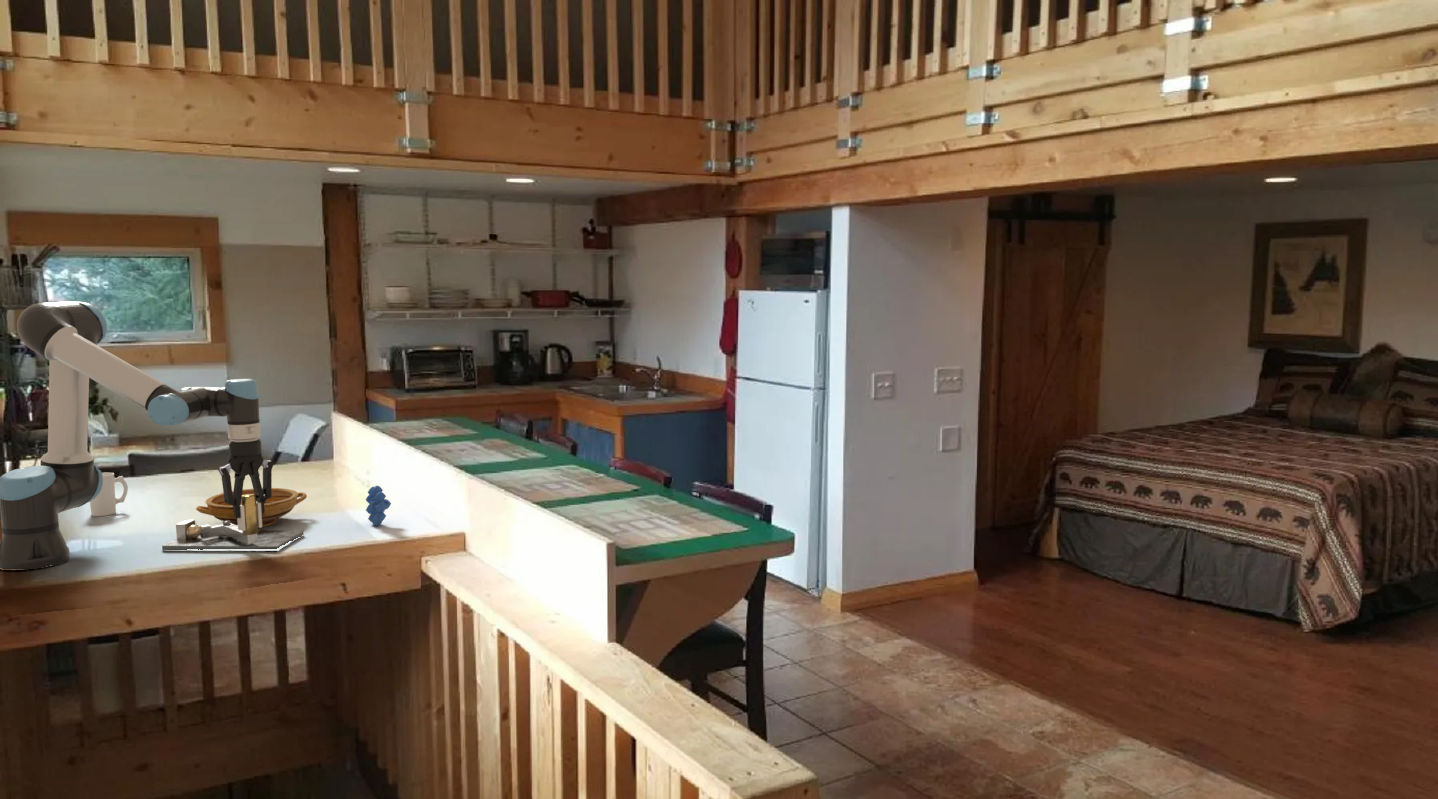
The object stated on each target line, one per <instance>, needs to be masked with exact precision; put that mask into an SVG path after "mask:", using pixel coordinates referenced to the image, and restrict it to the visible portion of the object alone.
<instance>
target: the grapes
mask: <svg viewBox="0 0 1438 799" xmlns="http://www.w3.org/2000/svg"><path fill="white" fill-rule="evenodd" d="M383 491H384V490H383V488H382V487H381V486H379V485H375V486H371V487H370V488H369V489H368V491H367V494H368V495H367V497H366V499H365V501H366V502H367V503H368V506H367V507H366V509H365V511H366V513H367V514H369V516H368V518H367V519H368V521H369V522H370V523H372V524H373V525H374V526H375V525H379V526H381V524H382V523H383V522H384V520H385V519H386V517H387V515H386V513H385V512H386V510H388V509H389V508H390V506H391V505H392V503H391V501H390V500H388V499H386V497H387V496H386V495H385V493H384V492H383Z"/></svg>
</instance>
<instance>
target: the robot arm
mask: <svg viewBox="0 0 1438 799" xmlns="http://www.w3.org/2000/svg"><path fill="white" fill-rule="evenodd" d="M17 318H18V319H17V322H16V330H17V331H16V332H17V334H18V337H19V338H20V340H21V341H22V343H23V344H24V345H26V347H27V348H28V349H30V350H31V351H33V352H35V353H36V354H38V355H39V356H41V357H43V358H45V359H46V360H49V368H48V369H49V370H48V371H49V372H48V373H49V374H48V375H49V377H48V378H49V379H48V380H49V381H48V424H47V425H48V429H47V430H48V431H47V452H46V453H44V454H43V455H42V456H41V457H40V465H34V466H33V465H31V466H26V467H23V468H16V469H13V470H10V471H8V472H5V473H4V474H2V475H1V476H0V525H1V534H2V535H1V536H2V537H1V540H0V568H2V569H34V570H37V569H36V568H41V569H43V568H42V567H46V566H50V565H54V566H58V565H61V564H63V563H65V562H64V561H66V562H67V561H69V560H70V559H71V554H70V548H69V547H68V545H67V542H66V540H65V538H64V536H63V534H62V532H61V530H60V525H59V524H60V523H59V513H63V512H66V511H69V510H71V509H75V508H80V507H82V506H84V505H86V504H87V503H90V501H92V500H93V499H94V498H95V497H96V496H97V495H98V494H99V492H100V491H101V488H102V485H103V476H102V473H103V472H102V470H100V469H99V467H98V465H97V464H95V463H94V462H95V458H94V456H93V455H92V454H91V453H90V452H89V451H88V436H89V435H88V433H89V431H88V430H89V395H90V394H89V393H90V391H89V389H90V388H89V387H90V379H91V380H93V381H95V382H96V383H98V384H100V385H101V386H102V387H105V388H107V389H109V390H110V391H112V392H114V393H115V394H117V395H119V396H121V397H122V398H124V399H126V400H128V401H129V402H132V403H133V404H135V405H137V406H138V407H140V408H142V409H144V410H145V411H147V413H148V416H149V418H150V419H151V421H152V422H153V423H154V424H155V425H158V426H161V427H168V426H176V425H180V424H183V423H186V422H190V421H194V420H198V419H201V418H202V419H203V418H206V417H226V421H227V436H228V437H227V438H228V439H229V442H228V454H229V461H228V463H227V464H226V465H223V466H219V467H218V468H217V470H218V472H219V474H220V478H221V484H222V491H223V492H222V493H224V501H225V503H226V504H229V505H232V506H233V514H234V518H237V522H238V529H239V530H241V531H245V514H244V506H243V505H241V499H242V491H243V490H244V482H245V480H246V476H249V477H250V481H251V485H252V489H254V493H255V495H256V500H257V501H256V504H257V522H258V527H259V528H258V529H260V528H263V527H262V514H264V512H265V508H264V502H266V499H268V498H271V496H272V488H273V486H272V479H273V478H272V475H273V474H272V470H273V467H274V466H275V465H274V464H275V463H274V461H272V460H268V459H264V457H263V455H262V451H263V450H262V440H261V439H260V437H261V422H260V405H259V402H260V401H259V399H260V394H259V388H258V382H257V381H256V380H255V379H252V378H235V379H233V378H232V379H228V380H226V381H225V383H224V386H222V387H216V386H215V387H214V386H213V387H211V386H188V387H187V386H186V387H183V388H181V389H180V390H179V391H177V390H176V389H174V388H173V387H170V386H168V385H167V384H166V383H164V382H162V381H160V380H158V379H156V378H155V377H154V376H151V375H150V374H147V373H146V372H145V371H143V370H141V369H139V368H137V367H136V366H134V365H132V364H130V363H129V362H127V361H126V360H123V359H122V358H120V357H118V356H116V355H115V354H113V353H112V352H109V351H107V350H106V349H104V348H103V347H101V346H99V345H98V344H100V343H101V342H102V341H103V340H104V339H105V338H106V335H107V331H108V325H107V324H108V323H107V320H106V318H105V316H104V314H103V313H102V312H101V311H100V310H99V309H98V307H96V306H95V305H92V304H91V303H88V302H84V301H76V300H73V301H71V300H65V301H54V302H53V301H52V302H38V303H34V304H32V305H30V306H28V307H26V308H24V310H23V311H22V312H21V313H20V314H19V317H17ZM261 466H262V484H261V479H260V476H261V475H260V472H259V470H260V468H261ZM231 470H232V471H233V472H234V485H233V487H232V480H231V479H232V478H231V474H230V473H231ZM262 488H263V490H262ZM232 491H233V494H232ZM69 558H70V559H69ZM68 559H69V560H68ZM62 562H63V563H62ZM60 563H61V564H60ZM57 564H58V565H57ZM50 567H51V566H50ZM46 568H47V567H46Z"/></svg>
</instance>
